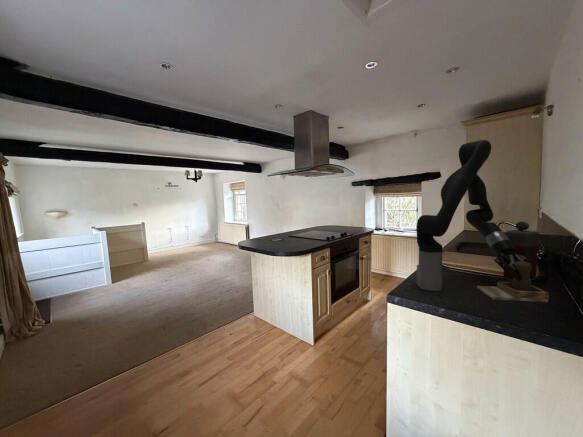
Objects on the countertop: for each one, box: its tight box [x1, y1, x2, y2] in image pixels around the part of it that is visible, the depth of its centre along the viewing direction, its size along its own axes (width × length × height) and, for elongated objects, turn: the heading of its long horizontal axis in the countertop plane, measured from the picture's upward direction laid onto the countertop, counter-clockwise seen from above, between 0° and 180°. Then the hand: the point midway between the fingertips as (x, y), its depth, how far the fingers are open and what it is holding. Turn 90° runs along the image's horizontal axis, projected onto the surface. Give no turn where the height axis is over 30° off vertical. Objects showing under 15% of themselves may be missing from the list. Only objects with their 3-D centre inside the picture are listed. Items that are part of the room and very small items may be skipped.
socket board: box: [476, 281, 550, 303], centre depth 98 cm, size 18×12×4 cm, turn 78°
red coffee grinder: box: [503, 220, 540, 281], centre depth 116 cm, size 9×11×28 cm
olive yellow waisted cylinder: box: [511, 261, 532, 291], centre depth 96 cm, size 6×6×11 cm
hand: (526, 279), depth 95 cm, fingers closed on olive yellow waisted cylinder, 4 cm apart
